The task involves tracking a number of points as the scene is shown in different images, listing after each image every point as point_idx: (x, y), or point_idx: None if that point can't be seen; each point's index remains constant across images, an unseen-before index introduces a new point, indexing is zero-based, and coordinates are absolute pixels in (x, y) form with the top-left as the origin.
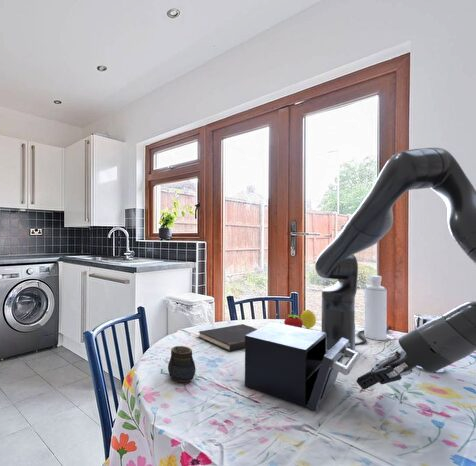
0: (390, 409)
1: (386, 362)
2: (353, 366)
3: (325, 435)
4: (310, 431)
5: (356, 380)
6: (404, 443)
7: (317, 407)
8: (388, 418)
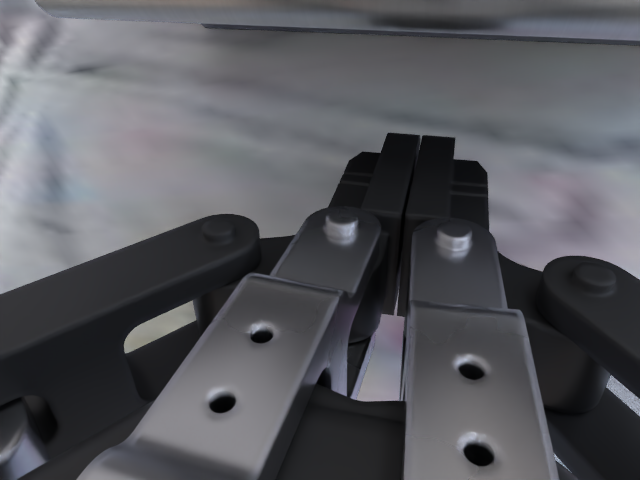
0: None
1: (175, 398)
2: (322, 26)
3: (6, 107)
4: (7, 51)
5: (390, 133)
6: None
7: (257, 29)
8: (379, 377)
